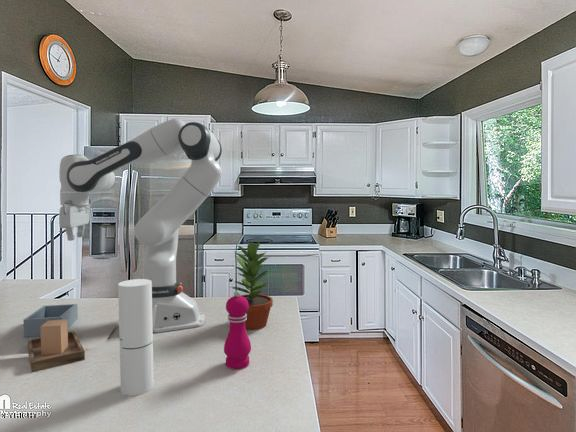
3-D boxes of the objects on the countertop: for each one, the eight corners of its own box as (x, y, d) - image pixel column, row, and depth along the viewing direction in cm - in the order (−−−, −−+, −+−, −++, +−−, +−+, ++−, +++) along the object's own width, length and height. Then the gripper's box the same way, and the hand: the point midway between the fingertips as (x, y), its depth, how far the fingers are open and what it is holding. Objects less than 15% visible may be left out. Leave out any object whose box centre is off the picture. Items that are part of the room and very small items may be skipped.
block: (68, 346, 107) (67, 319, 107) (61, 353, 102) (60, 325, 102) (49, 347, 106) (48, 320, 106) (41, 355, 101) (40, 326, 101)
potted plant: (262, 314, 138) (262, 235, 136) (279, 328, 125) (279, 240, 123) (223, 320, 132) (223, 237, 130) (237, 335, 118) (237, 243, 116)
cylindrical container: (145, 376, 91) (143, 277, 90) (158, 387, 86) (156, 282, 85) (116, 387, 86) (113, 282, 85) (127, 399, 81) (125, 288, 80)
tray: (28, 348, 108) (27, 340, 108) (75, 338, 115) (74, 331, 115) (31, 372, 93) (31, 362, 93) (84, 359, 101) (84, 350, 101)
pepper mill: (239, 373, 93) (239, 295, 92) (218, 366, 97) (217, 291, 96) (256, 362, 100) (256, 289, 98) (235, 355, 103) (235, 285, 102)
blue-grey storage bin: (78, 321, 130) (77, 303, 130) (62, 337, 116) (61, 317, 116) (44, 324, 128) (43, 305, 128) (24, 340, 114) (23, 319, 113)
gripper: (74, 201, 122) (75, 242, 123) (92, 199, 142) (93, 235, 143) (53, 201, 121) (54, 242, 122) (74, 199, 141) (75, 235, 142)
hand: (75, 238), depth 133 cm, fingers open, 8 cm apart
